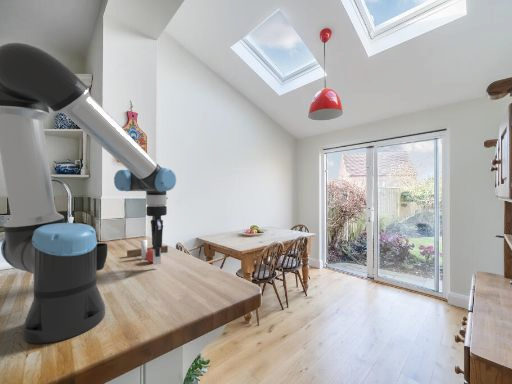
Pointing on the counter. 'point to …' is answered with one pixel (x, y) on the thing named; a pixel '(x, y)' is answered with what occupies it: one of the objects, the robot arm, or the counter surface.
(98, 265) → the mug
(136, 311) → the counter surface
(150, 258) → the ball
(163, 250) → the backstop
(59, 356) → the counter surface
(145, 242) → the pin left
